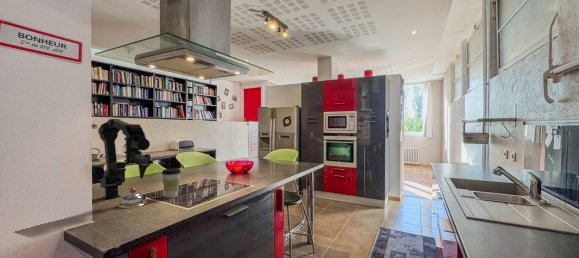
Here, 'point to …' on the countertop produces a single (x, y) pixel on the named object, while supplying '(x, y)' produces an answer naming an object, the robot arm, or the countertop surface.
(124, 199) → the press pot
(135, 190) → the plunger
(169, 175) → the coffee cup
